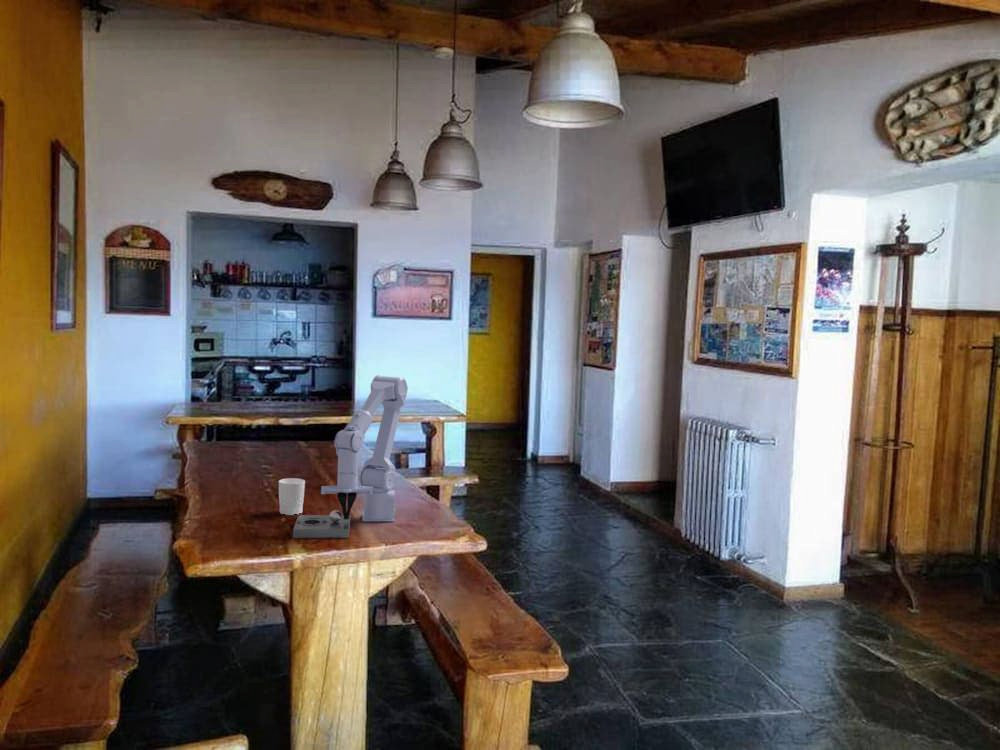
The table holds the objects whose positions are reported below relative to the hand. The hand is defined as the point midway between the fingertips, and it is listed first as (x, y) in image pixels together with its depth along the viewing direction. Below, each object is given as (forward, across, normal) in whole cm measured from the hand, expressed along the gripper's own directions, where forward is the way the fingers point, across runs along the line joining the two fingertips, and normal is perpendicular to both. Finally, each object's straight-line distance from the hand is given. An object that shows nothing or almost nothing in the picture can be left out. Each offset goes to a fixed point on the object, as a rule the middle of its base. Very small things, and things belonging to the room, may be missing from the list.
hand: (346, 518), depth 216 cm
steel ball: (-1, -3, 0) cm, 3 cm away
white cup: (+4, -18, +20) cm, 27 cm away
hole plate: (+3, -7, 0) cm, 7 cm away
